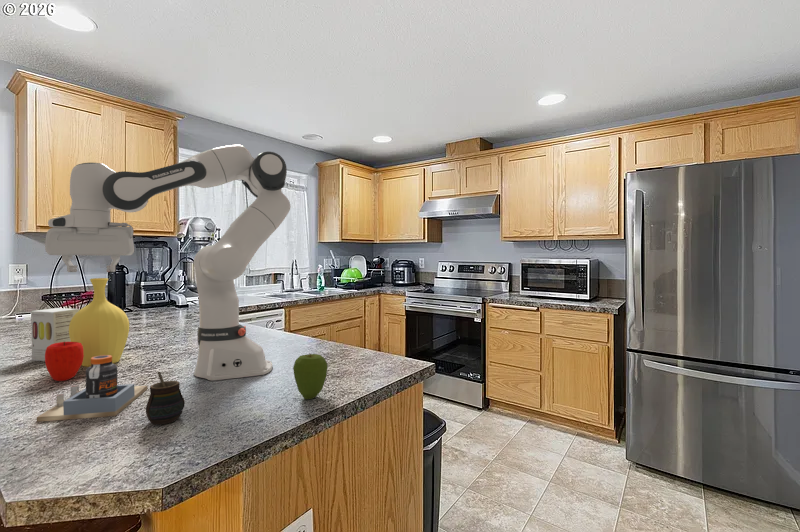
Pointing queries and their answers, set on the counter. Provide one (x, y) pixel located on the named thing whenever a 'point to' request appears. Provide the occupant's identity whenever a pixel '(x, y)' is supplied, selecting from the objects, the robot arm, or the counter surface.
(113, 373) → the pill bottle
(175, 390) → the mate gourd
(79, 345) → the apple
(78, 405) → the end holder
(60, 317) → the supplement box
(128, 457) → the counter surface
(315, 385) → the apple
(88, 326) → the vase
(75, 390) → the clips
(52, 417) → the board
